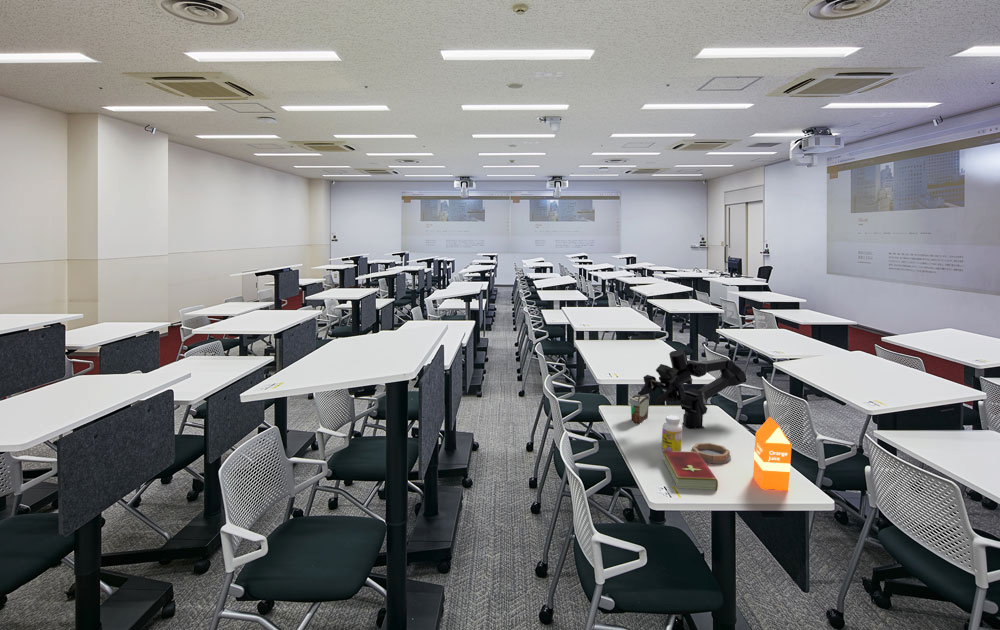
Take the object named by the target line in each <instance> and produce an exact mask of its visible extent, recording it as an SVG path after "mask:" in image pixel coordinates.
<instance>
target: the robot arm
mask: <svg viewBox="0 0 1000 630" xmlns="http://www.w3.org/2000/svg"><path fill="white" fill-rule="evenodd" d="M668 355H669V358H670V363H671V366H668V365H666V364H662V363H661V364H659V366H657V368H656V369H655V372H657V374H658V376H659V377H658V380H657V378H656V376H653V375H649V374H646V375H644V376H643V382H644V385H643V387H642V388H641V390H639V392H638V394H639V395H640V396H641V395H650V394H653V393H654V392H656V391H657V390H658V388H659V389H661V390H662V392H663V393H662V394H660V395H659V396H658V397H657V398H656V399H655V400H656V402H678V401H679V402H680V408H681V410H682V411H684V414H683V418H682V419H683V421H682V424H681V425H683V426H685V427H686V428H687V429H690V430H692V429H693V430H694V429H705V426H704V425H703V421H704V420H703V419H704V415H705V414H707V411H708V407H707V406H706V405H705V404H706V401H707V400H708V399H710V398H713V396H715V395H717V394H718V393H720V392H722V391H724V390H725V389H726V388H729V387H737V386H740V385H742V384H744V382H745V381H746V379H747V377H746V374H745V371H743V370H742V368H740V367H739V366H738V365H736V364H735V363H734V361H733V360H732V359H729V358H725V357H721V358H718V359H711V360H704V361H700V360H690V359H689V360H688V355H687V351H686V349H677V350H672V351H670V352H669V353H668ZM714 371H715V372H716V371H719V372H720V377H718V378H716V379H713V381H712V382H709V383H707V384H706V385H705V386H702V387H701V388H699V389H695V388H692V387H690V388H688V389H687V390H685V388H684V384H685V385H689V386H692V384H693V378H692V376H693V377H696V378H702V377H703V376H705V375H707V373H711V372H714Z"/></svg>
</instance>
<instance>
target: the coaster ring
mask: <svg viewBox="0 0 1000 630" xmlns="http://www.w3.org/2000/svg"><path fill="white" fill-rule="evenodd" d="M690 452H698V453H699V454H700V456H701V457H702V459H703V460H704V462H705V463H706V464H713V465H723V464H727V463H729V462H731V460H732V457H731V454H730V453H731V451H730V450H729V449H728V448H726V447H725V446H724V445H720V444H716V443H711V442H700V443H699V442H698V443H695V444H694V445H693V446H692V447H691V450H690Z"/></svg>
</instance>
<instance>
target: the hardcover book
mask: <svg viewBox="0 0 1000 630" xmlns="http://www.w3.org/2000/svg"><path fill="white" fill-rule="evenodd" d="M662 453H663V462H664V464H665V466H666V468H667V470H668V471H670V472H669V474H670V473H671V474H670V476H671V475H672V476H671V478H672V477H673V478H672V480H673V479H674V480H673V482H674V481H675V482H674V483H676V484H675V486H676V485H677V486H676V487H677V488H678V489H692V488H693V489H696V490H698V489H699V490H715V491H718V487H719V482H718V479H717V477H716V475H714V473H713V472H712V470H711V468H710V467H709V466H708V463H705V462H704V460H703V459H702V457H701V456H700V454H699V453H698V452H691V451H689V450H688V451H686V450H683V451H682V450H681V451H663V452H662Z"/></svg>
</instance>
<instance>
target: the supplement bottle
mask: <svg viewBox="0 0 1000 630" xmlns="http://www.w3.org/2000/svg"><path fill="white" fill-rule="evenodd" d="M680 420H681V418H680V417H679V416H677V415H667V416H665V422H664V423H663V424H662V432H661V451H662V453H663V451H682V444H683V443H682V440H683V426H682V424H680V422H681V421H680Z"/></svg>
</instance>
